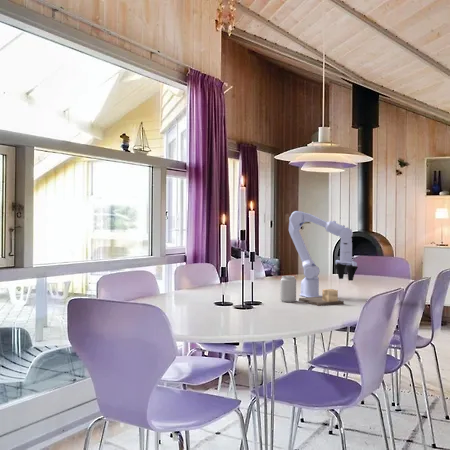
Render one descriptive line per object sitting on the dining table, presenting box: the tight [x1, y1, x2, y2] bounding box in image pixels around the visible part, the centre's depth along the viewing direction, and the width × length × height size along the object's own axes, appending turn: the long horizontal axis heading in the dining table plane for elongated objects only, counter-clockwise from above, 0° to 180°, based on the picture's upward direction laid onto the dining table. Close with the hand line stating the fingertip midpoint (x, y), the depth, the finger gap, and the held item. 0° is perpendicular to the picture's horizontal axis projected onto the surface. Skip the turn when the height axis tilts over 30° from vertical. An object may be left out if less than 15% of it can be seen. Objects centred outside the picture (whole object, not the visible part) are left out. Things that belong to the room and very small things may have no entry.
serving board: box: [298, 297, 345, 307], centre depth 234 cm, size 16×14×1 cm
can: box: [279, 275, 297, 303], centre depth 236 cm, size 8×8×12 cm
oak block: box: [321, 288, 339, 302], centre depth 231 cm, size 5×5×5 cm
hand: (345, 279), depth 245 cm, fingers open, 7 cm apart
